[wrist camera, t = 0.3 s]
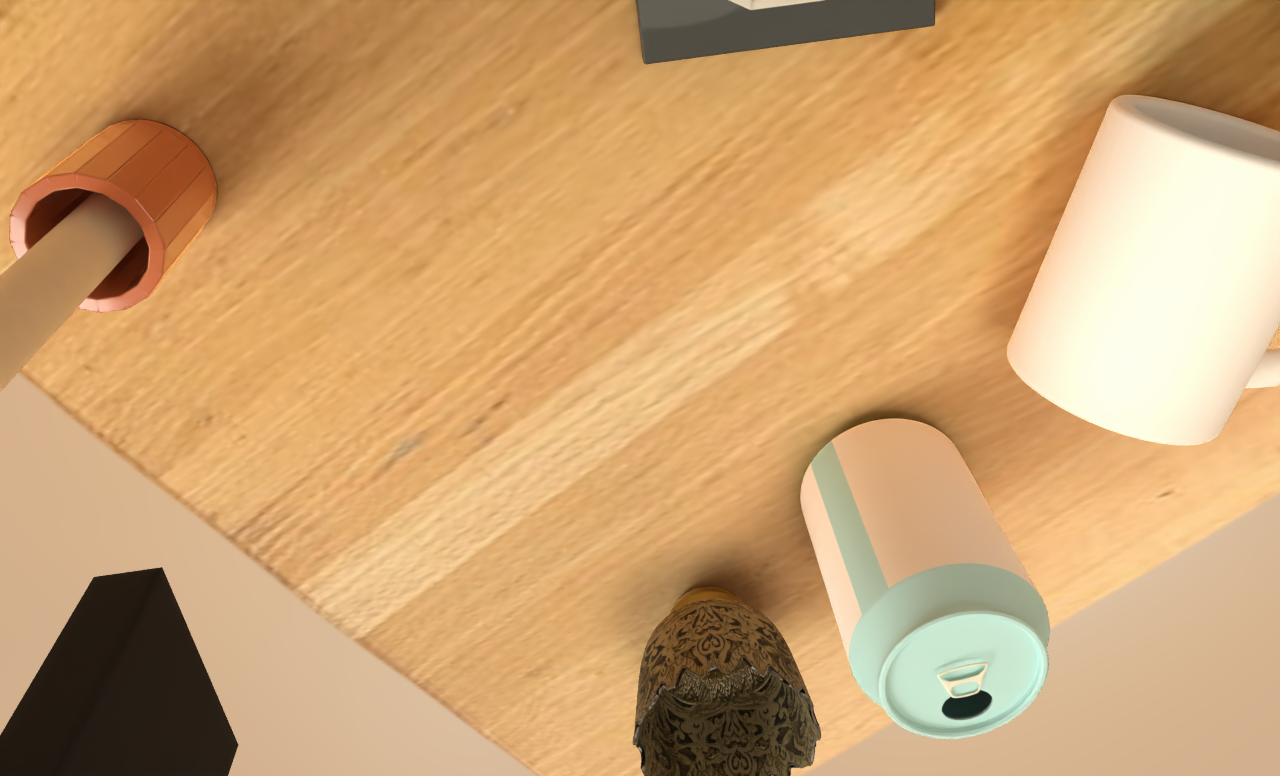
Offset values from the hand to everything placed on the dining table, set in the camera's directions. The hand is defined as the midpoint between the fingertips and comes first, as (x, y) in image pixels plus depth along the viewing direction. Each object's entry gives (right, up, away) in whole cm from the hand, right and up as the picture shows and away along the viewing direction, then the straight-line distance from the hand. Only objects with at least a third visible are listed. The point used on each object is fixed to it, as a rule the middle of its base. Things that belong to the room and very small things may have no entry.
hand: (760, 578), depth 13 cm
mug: (+19, +8, +31) cm, 37 cm away
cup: (+2, -8, +38) cm, 39 cm away
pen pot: (-19, +10, +27) cm, 34 cm away
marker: (-19, +9, +27) cm, 34 cm away
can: (+9, -2, +35) cm, 37 cm away
